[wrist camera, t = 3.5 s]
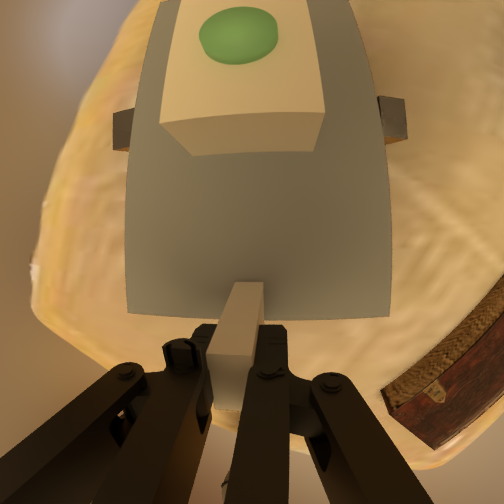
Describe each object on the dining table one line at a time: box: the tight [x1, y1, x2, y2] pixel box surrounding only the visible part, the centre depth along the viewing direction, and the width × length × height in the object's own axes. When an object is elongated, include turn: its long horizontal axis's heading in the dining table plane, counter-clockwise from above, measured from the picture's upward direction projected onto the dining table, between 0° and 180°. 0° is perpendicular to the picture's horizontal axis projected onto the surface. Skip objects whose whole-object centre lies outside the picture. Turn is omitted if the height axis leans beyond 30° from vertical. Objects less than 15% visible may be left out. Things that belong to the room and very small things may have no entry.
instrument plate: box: [125, 0, 392, 320], centre depth 14 cm, size 26×16×8 cm, turn 2°
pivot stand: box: [113, 96, 408, 152], centre depth 21 cm, size 16×22×7 cm
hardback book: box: [380, 275, 504, 451], centre depth 25 cm, size 29×19×5 cm, turn 136°
